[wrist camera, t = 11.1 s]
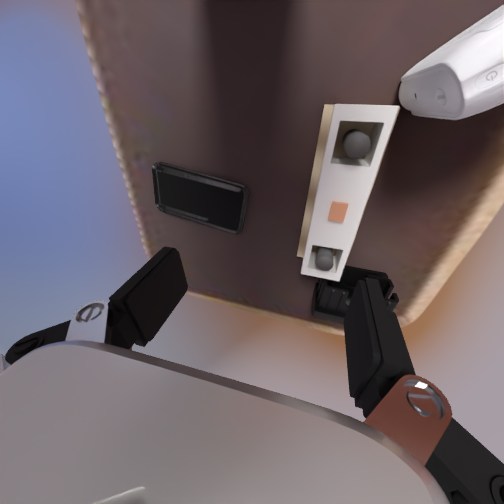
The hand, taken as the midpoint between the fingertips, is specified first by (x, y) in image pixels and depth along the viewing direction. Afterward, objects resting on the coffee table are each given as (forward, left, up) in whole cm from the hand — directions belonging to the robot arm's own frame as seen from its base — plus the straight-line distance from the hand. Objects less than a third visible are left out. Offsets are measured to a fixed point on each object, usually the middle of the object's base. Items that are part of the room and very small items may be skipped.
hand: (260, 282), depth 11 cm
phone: (+5, -15, -21) cm, 26 cm away
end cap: (+15, +10, -21) cm, 28 cm away
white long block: (+1, +5, -19) cm, 20 cm away
